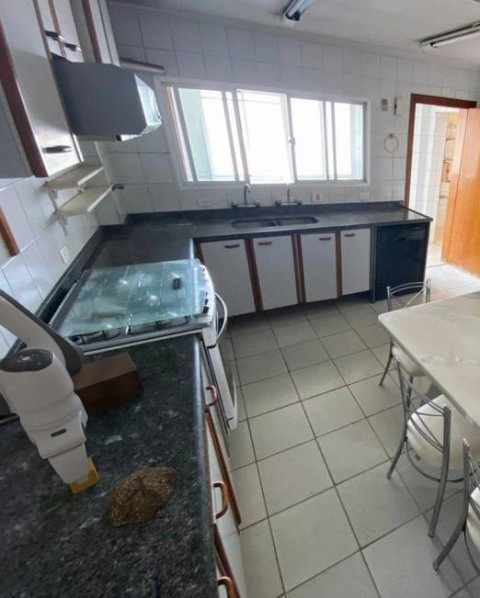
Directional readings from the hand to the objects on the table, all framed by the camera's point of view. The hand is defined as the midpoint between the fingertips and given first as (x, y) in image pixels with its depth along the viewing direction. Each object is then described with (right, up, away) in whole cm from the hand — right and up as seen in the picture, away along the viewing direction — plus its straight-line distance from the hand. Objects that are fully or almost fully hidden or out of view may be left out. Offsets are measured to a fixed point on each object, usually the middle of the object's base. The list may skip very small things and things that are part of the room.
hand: (79, 467), depth 74 cm
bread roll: (+15, -7, -1) cm, 17 cm away
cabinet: (-17, +8, +27) cm, 33 cm away
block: (-1, -4, +2) cm, 5 cm away
